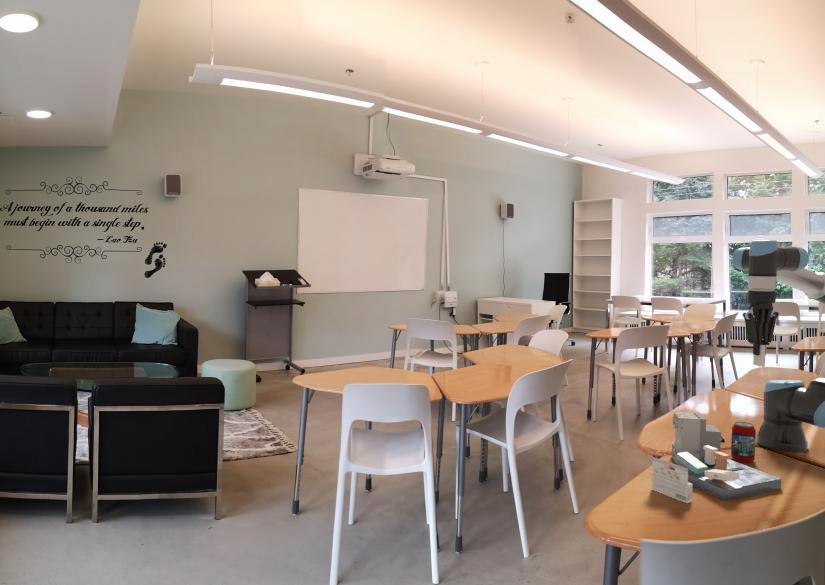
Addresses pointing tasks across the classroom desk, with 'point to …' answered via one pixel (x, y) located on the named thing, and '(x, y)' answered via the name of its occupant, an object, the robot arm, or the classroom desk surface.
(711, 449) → the slider ivory
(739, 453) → the beverage can
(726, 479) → the rocker ivory
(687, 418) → the circuit breaker
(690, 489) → the ink cartridge box
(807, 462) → the classroom desk surface
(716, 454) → the slider rust
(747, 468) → the panel
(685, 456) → the rocker teal
